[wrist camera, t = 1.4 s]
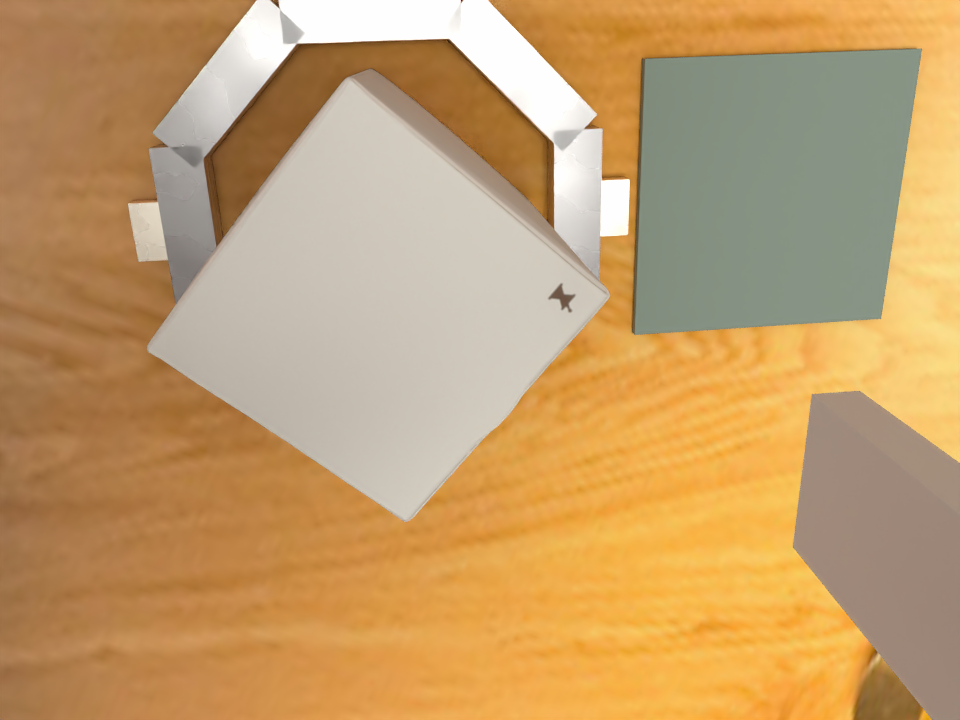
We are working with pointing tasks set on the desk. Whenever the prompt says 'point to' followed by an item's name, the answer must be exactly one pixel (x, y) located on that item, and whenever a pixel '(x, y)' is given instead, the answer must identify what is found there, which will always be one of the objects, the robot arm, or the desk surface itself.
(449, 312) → the supplement box
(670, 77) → the felt pad
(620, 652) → the desk surface
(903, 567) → the robot arm
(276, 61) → the socket collar
